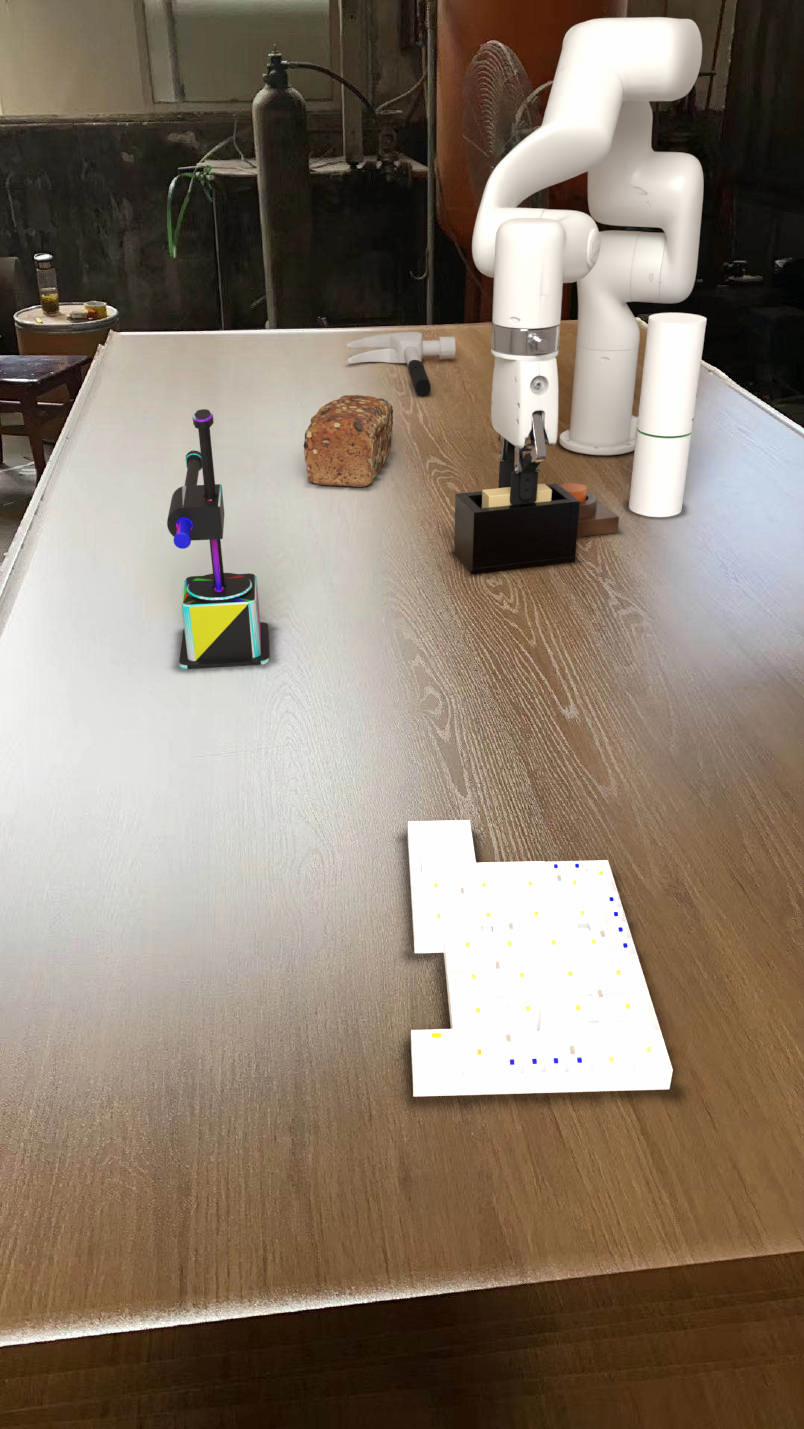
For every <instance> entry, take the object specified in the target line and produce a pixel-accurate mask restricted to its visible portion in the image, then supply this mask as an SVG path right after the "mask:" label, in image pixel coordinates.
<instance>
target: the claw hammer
mask: <svg viewBox="0 0 804 1429" xmlns="http://www.w3.org/2000/svg"><path fill="white" fill-rule="evenodd" d="M456 348H457V346H456V337H455V336H438V339H434V340H432V339H431V340H429V339H428V340H423V334H422V332H420V331H400V332H398V331H396V332H389V333H381V334H375V335H369V336H366V337H362V338H359V339H356V340H352V341H350V342H348V343H347V349H350V350H357V349H358V350H359V349H370V350H366V351H363V352H359V353H356V354H354V355H352V356H349V358H348V359H347V363H348V364H357V363H358V364H359V363H369V362H370V363H373V362H374V363H390V364H391V363H392V364H406V365H407V368H408V374H409V375H410V378H411V381H412V385H413V388H414V390H415V392H416V395H418V396H420V397H426V396H429V394H430V392H431V382H430V379H429V377H428V375H427V372H426V369H425V367H424V364H423V362H422V361H423V357H438V359H439V360H454V359H455V357H456Z"/></svg>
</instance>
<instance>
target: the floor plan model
mask: <svg viewBox="0 0 804 1429" xmlns="http://www.w3.org/2000/svg"><path fill="white" fill-rule="evenodd" d="M472 832H473V831H472V826H471V820H470V819H452V820H451V819H450V820H449V819H448V820H408V821H407V849H408V866H409V881H410V884H409V885H410V900H411V915H412V932H413V933H412V934H413V949H414V950H413V952H414V954H436V953H437V954H438V953H439V954H440V953H441V954H443V959H444V960H443V961H444V969H445V971H444V972H445V979H446V980H445V981H446V990H447V1002H448V1012H449V1013H448V1015H449V1022H450V1024H449V1025H450V1028H439V1029H438V1028H437V1029H436V1028H435V1029H411V1030H410V1051H411V1052H410V1054H411V1055H410V1056H411V1074H412V1094H413V1097H414V1098H415V1097H439V1096H440V1097H442V1096H445V1097H446V1096H482V1095H484V1096H485V1095H515V1094H516V1095H518V1094H519V1095H520V1094H547V1093H548V1094H550V1093H551V1094H554V1093H583V1092H584V1093H585V1092H586V1093H587V1092H588V1093H590V1092H619V1091H621V1092H622V1091H623V1092H624V1091H656V1090H660V1091H661V1090H670V1088H671V1082H672V1077H673V1071H674V1068H673V1066H672V1062H671V1060H670V1056H669V1053H668V1049H667V1046H666V1043H665V1040H664V1037H663V1034H662V1030H661V1027H660V1023H659V1020H658V1017H657V1014H656V1012H655V1008H654V1005H653V1001H652V998H651V995H650V991H649V988H648V985H647V982H646V978H645V975H644V973H643V972H644V971H643V969H642V966H641V965H642V964H641V963H640V959H639V955H638V953H637V949H636V946H635V944H634V940H633V937H632V933H631V930H630V927H629V924H628V920H627V917H626V913H625V910H624V908H623V904H622V901H621V898H620V894H619V892H618V888H617V885H616V882H615V878H614V875H613V871H612V868H611V864H610V863H609V860H608V859H604V860H602V859H601V860H600V859H599V860H559V861H553V860H552V861H545V860H533V861H532V860H529V861H527V860H525V861H497V862H496V861H488V862H486V861H485V862H477V860H476V854H475V847H474V840H473V833H472Z"/></svg>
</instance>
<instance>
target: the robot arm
mask: <svg viewBox="0 0 804 1429" xmlns="http://www.w3.org/2000/svg"><path fill="white" fill-rule="evenodd" d="M702 58H703V41H702V35H701V32H700V29H699V27H698V25H697V23H696V22H695V21H694V20H692V19H690V18H675V17H666V16H665V17H663V16H652V17H651V16H648V17H647V16H645V17H601V18H592V19H589V20H586V21H583V22H580V23H576V24H574V25H572V26H571V27H570V28H569V29H568V30H567V31H566V33H565V35H564V38H563V40H562V45H561V52H560V56H559V59H558V63H557V67H556V70H555V74H554V77H553V81H552V85H551V89H550V93H549V96H548V100H547V105H546V107H545V111H544V116H543V118H542V122H541V125H540V126H539V127H538V128H537V129H536V130H534V131H533V132H531V133H530V134H528V135H527V136H526V137H524V138H523V139H522V140H521V141H520V142H519V143H517V145H515V146H514V147H513V148H512V149H511V150H510V151H509V152H508V153H507V154H506V155H505V156H504V157H503V158H502V159H501V160H500V161H499V162H498V164H497V165H496V166H495V168H494V169H493V170H492V171H491V174H490V175H489V177H488V179H487V182H486V184H485V187H484V189H483V193H482V196H481V200H480V203H479V207H478V210H477V214H476V218H475V222H474V227H473V231H472V238H471V239H472V240H471V254H472V259H473V263H474V265H475V267H476V269H477V270H478V271H479V272H480V273H481V274H483V275H484V276H486V277H489V278H493V289H492V290H493V293H492V320H491V322H492V323H491V324H492V325H491V344H490V345H491V347H490V348H491V349H490V353H491V355H493V356H494V365H493V373H492V385H491V398H490V422H491V427H493V430H494V431H496V433H497V435H498V442H499V444H498V446H499V447H498V459H499V460H500V461H499V462H498V487H497V488H506V487H511V488H510V503H511V504H512V505H518V504H527V503H535V502H536V500H537V485H538V484H539V483H538V482H539V472H540V470H541V462H543V461H545V460H546V459H547V456H548V455H547V447H546V445H547V446H549V447H553V446H555V445H556V444H557V441H558V439H559V442H558V443H559V445H560V446H561V447H562V448H564V449H566V450H568V451H570V452H573V453H577V454H583V455H588V456H589V455H590V456H618V455H624V454H629V453H631V452H633V451H635V442H636V432H637V423H638V416H636V415H634V414H633V407H634V397H635V388H636V378H637V368H638V361H639V360H638V357H639V350H640V349H639V348H640V341H641V340H640V339H641V334H640V327H639V324H638V321H637V319H636V317H635V315H634V314H633V312H632V310H631V309H630V307H629V305H628V304H627V303H634V302H637V303H652V304H678V303H681V302H683V301H685V300H686V299H687V298H689V296H690V295H691V294H692V291H693V289H694V287H695V282H696V276H697V270H698V260H699V249H700V237H701V225H702V215H703V214H702V212H703V202H704V187H705V186H704V185H705V184H704V181H705V180H704V172H703V167H702V165H701V164H702V163H701V162H700V160H699V159H698V158H697V157H696V156H695V155H693V154H691V153H686V152H678V151H654V149H653V148H652V137H653V136H652V133H653V120H654V119H653V118H654V116H653V115H654V114H653V109H652V106H651V104H650V102H673V101H677V100H680V99H682V98H684V97H685V96H687V95H688V94H689V93H690V92H691V90H692V89H693V86H695V84H696V81H697V79H698V76H699V73H700V69H701V65H702ZM585 173H587V204H588V210H589V214H590V215H589V214H587V213H585V212H582V211H579V210H572V209H552V208H551V209H550V208H549V209H548V208H533V207H519V205H520V204H521V203H522V202H524V201H525V200H526V199H527V198H529V197H530V196H532V195H534V194H536V193H537V192H541V191H542V190H544V189H547V188H549V187H552V186H555V185H557V184H560V183H563V182H565V181H568V180H570V179H573V178H576V177H578V176H580V175H582V174H585ZM596 222H597V223H598V224H599V223H600V224H602V225H608V226H617V227H635V228H636V227H637V228H638V227H639V228H659V229H661V230H662V231H663V232H653V231H650V232H649V231H642V230H641V231H638V230H617V229H615V230H614V229H613V230H611V229H610V230H602V231H599V228H598V224H596ZM572 283H576V289H577V330H576V343H575V356H574V368H573V369H574V370H573V382H572V383H573V384H572V397H571V409H570V422H569V429H566V430H565V431H563V432H561V433H560V434H559V372H558V362H557V361H558V360H557V356H558V355H559V347H560V335H561V334H560V331H561V320H562V305H563V304H562V302H563V286H564V284H572ZM558 434H559V438H558ZM526 441H530V443H526ZM529 451H530V452H529ZM525 452H529V453H525Z"/></svg>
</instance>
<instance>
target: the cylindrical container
mask: <svg viewBox="0 0 804 1429" xmlns="http://www.w3.org/2000/svg"><path fill="white" fill-rule="evenodd" d="M707 320H708V319H707V317H705V316H703V315H701V314H694V313H688V312H686V313H685V312H660V313H659V312H658V313H653V314H651V315H649V316H648V320H647V322H648V323H647V330H646V340H645V348H644V349H645V350H644V357H643V366H642V367H643V368H642V377H641V385H640V394H639V396H640V397H639V405H638V416H637V417H638V423H637V432H636V442H635V450H634V454H633V461H632V472H631V482H630V491H629V499H628V500H629V501H628V509H629V510H630V511H631V512H633V513H635V514H637V515H641V516H644V517H645V516H646V517H652V518H669V517H673V516H677V515H679V514H680V513H681V512H682V509H683V501H684V495H685V486H686V478H687V470H688V464H689V457H690V448H691V441H692V433H693V428H694V427H693V426H694V419H695V411H696V404H697V396H698V389H699V388H698V387H699V380H700V373H701V372H700V371H701V365H702V356H703V350H704V342H705V335H706V334H705V333H706V326H707Z"/></svg>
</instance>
